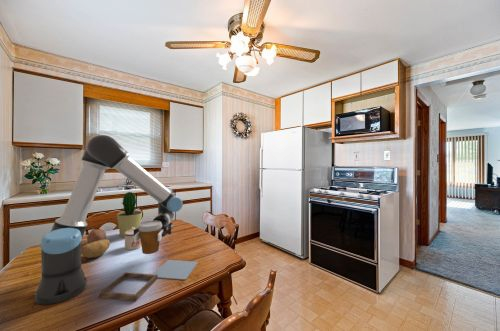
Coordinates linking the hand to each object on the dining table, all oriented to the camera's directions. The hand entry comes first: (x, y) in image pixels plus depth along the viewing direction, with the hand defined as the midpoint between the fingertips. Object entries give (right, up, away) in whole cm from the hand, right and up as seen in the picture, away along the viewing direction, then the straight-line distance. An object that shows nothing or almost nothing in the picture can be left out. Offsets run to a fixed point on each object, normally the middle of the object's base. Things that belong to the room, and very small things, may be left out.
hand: (147, 238), depth 88 cm
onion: (-51, -18, +43) cm, 70 cm away
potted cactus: (-41, -18, +60) cm, 75 cm away
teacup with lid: (-27, -19, +41) cm, 52 cm away
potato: (-40, -19, +27) cm, 52 cm away
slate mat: (+7, -20, +14) cm, 25 cm away
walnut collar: (-7, -20, 0) cm, 21 cm away
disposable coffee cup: (-1, -7, +5) cm, 9 cm away
